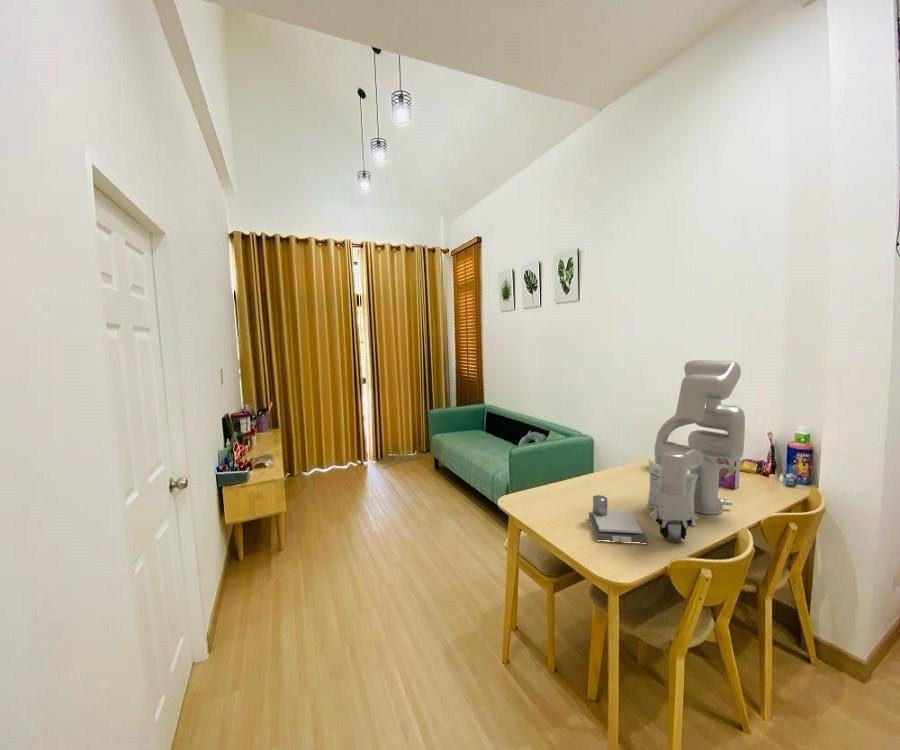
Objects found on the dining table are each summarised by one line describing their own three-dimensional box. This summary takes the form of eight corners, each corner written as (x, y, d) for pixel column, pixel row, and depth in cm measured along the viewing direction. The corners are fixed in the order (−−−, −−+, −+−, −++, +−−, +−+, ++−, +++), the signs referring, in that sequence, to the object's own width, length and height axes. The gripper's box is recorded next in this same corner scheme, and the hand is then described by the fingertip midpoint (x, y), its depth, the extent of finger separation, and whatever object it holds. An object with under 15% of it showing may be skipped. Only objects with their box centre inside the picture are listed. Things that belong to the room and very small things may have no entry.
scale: (632, 520, 141) (632, 510, 140) (647, 545, 125) (647, 534, 124) (588, 518, 144) (588, 508, 143) (597, 542, 128) (597, 531, 127)
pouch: (687, 530, 133) (689, 477, 130) (641, 508, 150) (642, 460, 148) (701, 524, 136) (703, 472, 133) (654, 503, 153) (655, 457, 151)
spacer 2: (677, 534, 129) (678, 518, 128) (684, 542, 124) (684, 526, 123) (662, 533, 130) (662, 517, 129) (667, 542, 125) (668, 525, 124)
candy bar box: (706, 482, 170) (707, 448, 168) (710, 479, 173) (711, 446, 171) (735, 490, 161) (736, 454, 159) (739, 487, 164) (741, 451, 162)
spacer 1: (605, 510, 141) (605, 495, 141) (608, 516, 136) (608, 501, 136) (592, 509, 142) (591, 495, 142) (594, 516, 137) (594, 501, 137)
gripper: (696, 482, 126) (695, 531, 129) (642, 481, 130) (642, 529, 132) (707, 492, 119) (705, 544, 122) (650, 491, 122) (650, 542, 125)
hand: (672, 536), depth 127 cm, fingers closed on spacer 2, 5 cm apart
